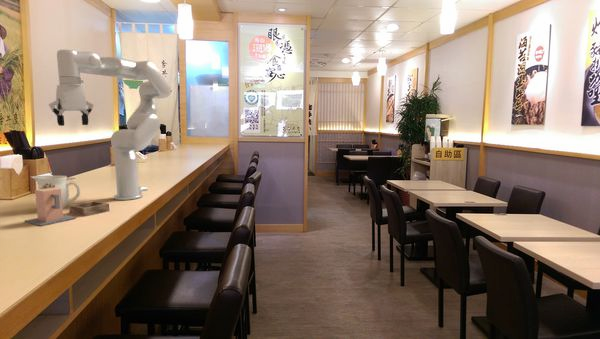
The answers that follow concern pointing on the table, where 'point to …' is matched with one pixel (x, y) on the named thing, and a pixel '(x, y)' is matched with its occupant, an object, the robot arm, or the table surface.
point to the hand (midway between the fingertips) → (73, 125)
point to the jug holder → (89, 208)
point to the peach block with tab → (49, 204)
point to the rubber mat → (43, 223)
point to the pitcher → (57, 186)
